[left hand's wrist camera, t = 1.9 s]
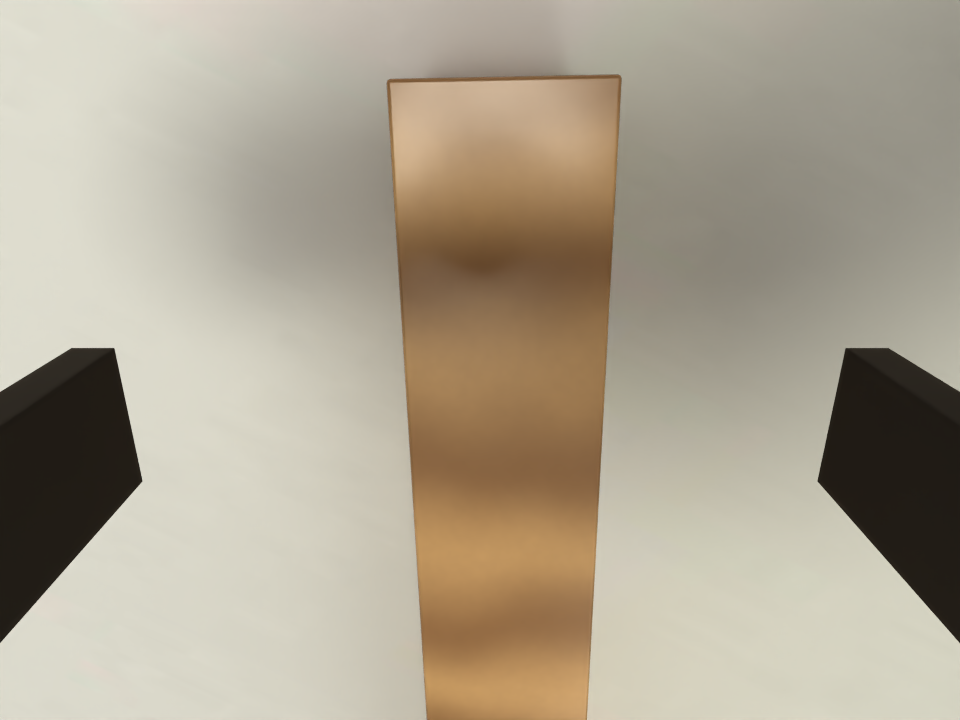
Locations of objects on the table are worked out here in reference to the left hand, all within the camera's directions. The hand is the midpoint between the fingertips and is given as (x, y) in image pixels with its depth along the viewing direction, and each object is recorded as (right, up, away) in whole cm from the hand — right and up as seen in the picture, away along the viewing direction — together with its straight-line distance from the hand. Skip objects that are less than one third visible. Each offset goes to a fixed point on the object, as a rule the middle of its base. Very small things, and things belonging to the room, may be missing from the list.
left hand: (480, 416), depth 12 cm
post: (+1, -23, +23) cm, 33 cm away
